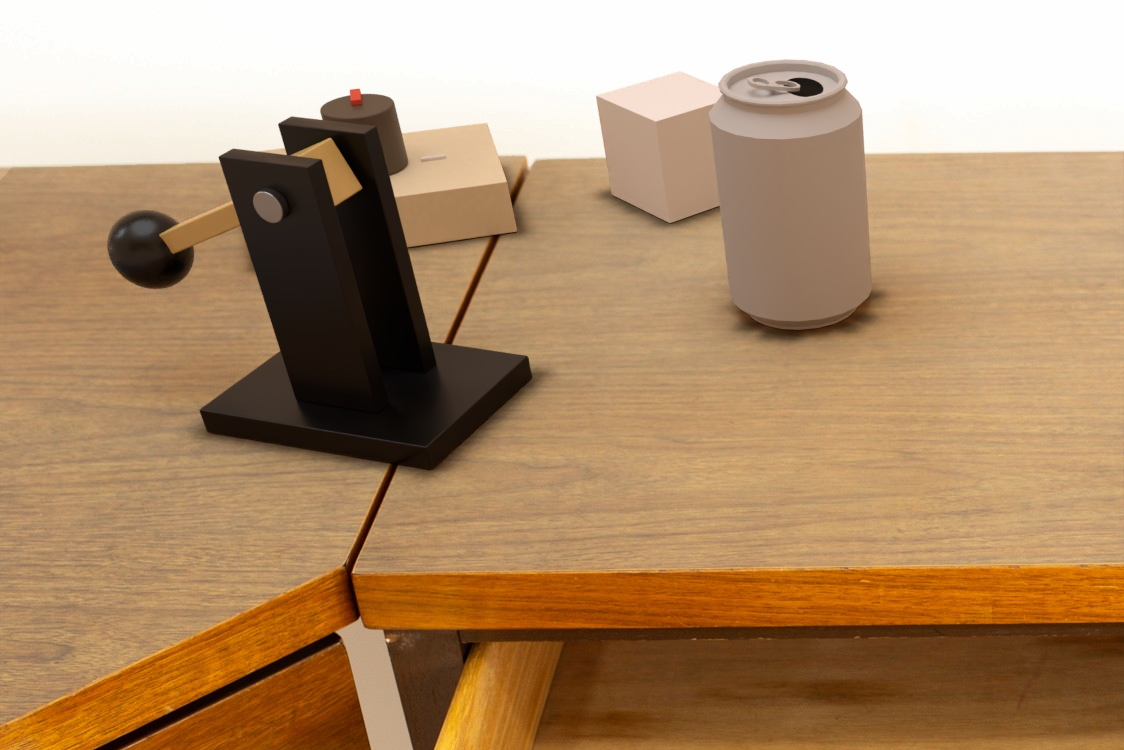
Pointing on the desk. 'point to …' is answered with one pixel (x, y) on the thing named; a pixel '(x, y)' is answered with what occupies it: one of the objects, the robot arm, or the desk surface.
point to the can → (792, 192)
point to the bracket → (347, 315)
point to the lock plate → (450, 186)
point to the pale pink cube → (661, 145)
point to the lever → (197, 228)
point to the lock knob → (371, 122)
